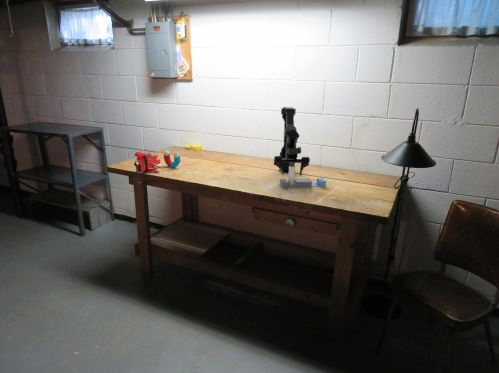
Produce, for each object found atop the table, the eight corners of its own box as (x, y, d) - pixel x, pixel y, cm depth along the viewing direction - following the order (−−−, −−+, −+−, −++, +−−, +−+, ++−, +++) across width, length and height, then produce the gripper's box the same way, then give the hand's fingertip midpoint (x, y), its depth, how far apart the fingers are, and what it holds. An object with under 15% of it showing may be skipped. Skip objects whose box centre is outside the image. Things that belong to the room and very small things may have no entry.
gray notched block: (279, 186, 193) (279, 179, 191) (321, 184, 197) (322, 178, 196) (282, 189, 187) (282, 182, 186) (325, 188, 191) (326, 181, 190)
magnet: (180, 168, 222) (180, 152, 218) (177, 169, 219) (177, 153, 216) (167, 165, 228) (166, 149, 225) (164, 166, 225) (163, 150, 222)
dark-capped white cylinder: (289, 184, 193) (291, 161, 188) (294, 185, 191) (296, 162, 187) (286, 186, 190) (288, 162, 186) (292, 187, 188) (293, 163, 184)
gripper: (275, 141, 187) (275, 166, 180) (310, 142, 187) (312, 167, 180) (273, 152, 197) (273, 177, 190) (307, 153, 197) (308, 178, 190)
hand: (291, 174), depth 187 cm, fingers open, 9 cm apart
